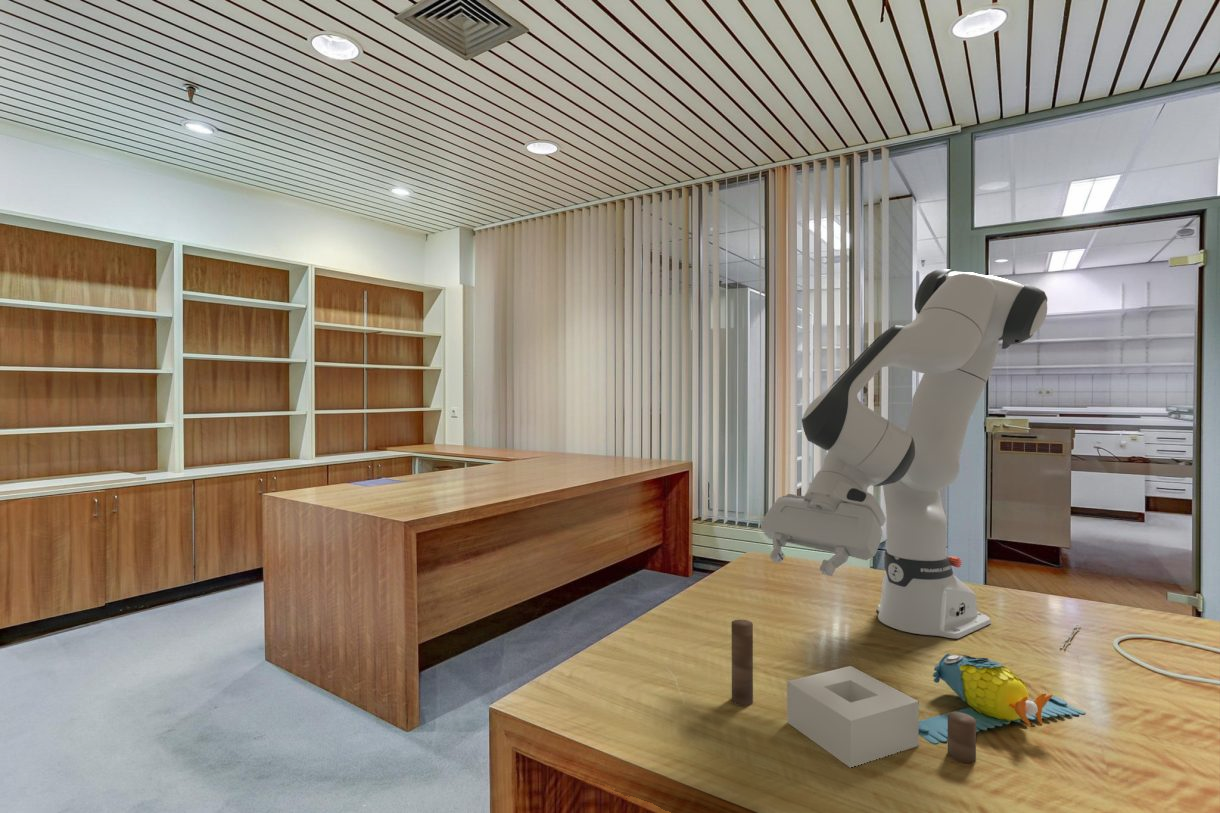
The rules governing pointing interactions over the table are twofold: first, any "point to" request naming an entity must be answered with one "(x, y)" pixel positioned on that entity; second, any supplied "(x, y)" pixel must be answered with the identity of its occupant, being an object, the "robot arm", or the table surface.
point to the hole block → (853, 715)
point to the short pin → (962, 737)
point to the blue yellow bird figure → (989, 697)
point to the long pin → (742, 662)
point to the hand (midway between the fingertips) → (799, 566)
